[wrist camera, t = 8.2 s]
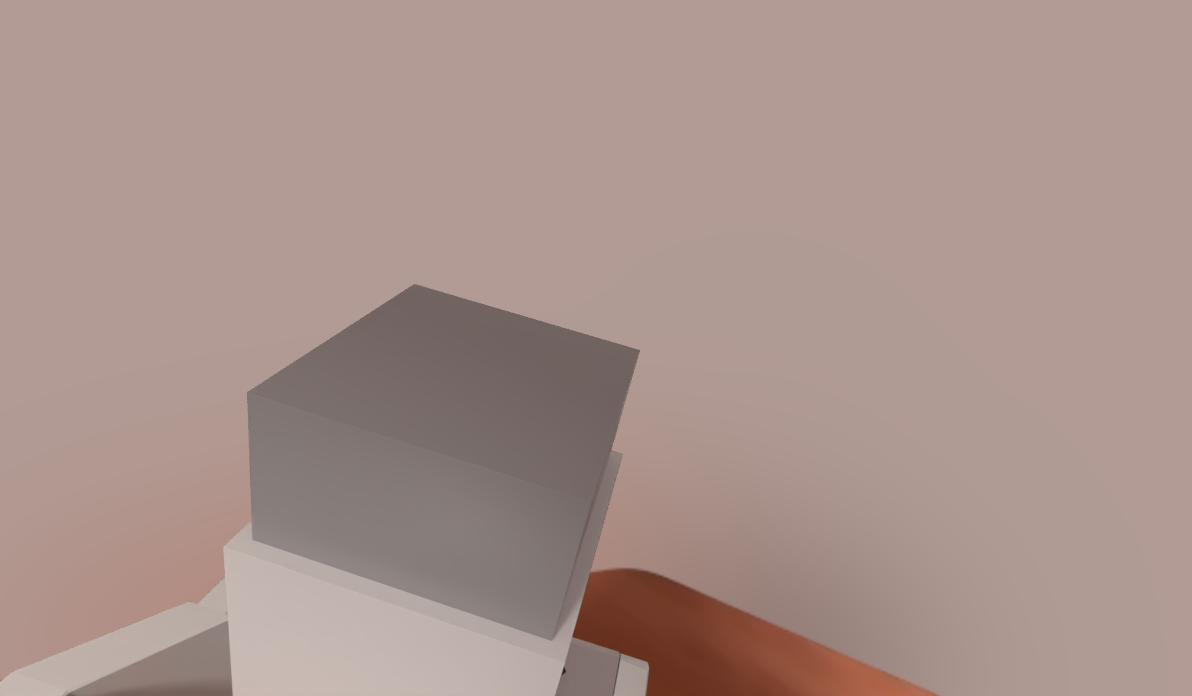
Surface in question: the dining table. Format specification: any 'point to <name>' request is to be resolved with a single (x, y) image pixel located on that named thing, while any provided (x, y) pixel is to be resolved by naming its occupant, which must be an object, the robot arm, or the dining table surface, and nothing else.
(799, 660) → the dining table surface
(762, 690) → the dining table surface
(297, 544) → the plug
